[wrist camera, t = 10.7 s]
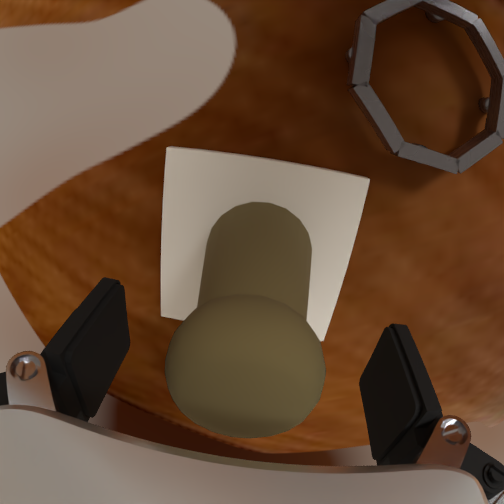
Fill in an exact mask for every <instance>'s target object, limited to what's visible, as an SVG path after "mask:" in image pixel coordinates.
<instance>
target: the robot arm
mask: <svg viewBox="0 0 504 504" xmlns="http://www.w3.org/2000/svg"><path fill="white" fill-rule="evenodd" d="M129 347H130V336H129V328H128V320H127V311H126V301H125V290H124V286H123V285H120V282H119V281H118V280H115V279H110V278H103V279H102V280H101V281H100V282H99V283H98V284H97V285H96V287H95V288H94V289H93V290H92V291H91V292H90V294H89V295H88V296H87V297H86V298H85V300H84V301H83V302H82V303H81V304H80V306H79V307H78V308H77V309H76V310H75V311H74V312H73V313H72V314H71V315H70V317H69V318H68V319H67V320H66V322H65V323H64V324H63V325H62V327H61V328H60V329H59V330H58V332H57V333H56V334H55V336H54V337H53V338H52V339H51V341H50V342H49V343H48V345H47V346H46V347H45V349H44V350H43V351H42V353H41V354H38V353H36V352H32V351H23V352H20V353H17V354H16V355H14V356H13V357H12V358H11V359H10V360H9V361H8V363H7V366H6V372H3V373H0V504H504V466H503V465H502V464H501V463H500V462H499V461H497V460H496V459H494V458H493V457H491V456H489V455H488V454H486V453H485V452H483V451H482V450H480V449H479V448H477V447H476V446H474V445H473V444H471V443H470V441H471V431H470V429H469V427H468V425H467V424H466V423H465V421H463V420H462V419H461V418H459V417H457V416H453V415H447V416H444V417H443V415H442V412H441V411H442V409H441V406H440V404H439V401H438V398H437V396H436V393H435V390H434V388H433V385H432V383H431V380H430V378H429V375H428V373H427V370H426V368H425V366H424V363H423V361H422V358H421V356H420V354H419V351H418V349H417V347H416V345H415V342H414V340H413V338H412V336H411V333H410V331H409V329H408V327H407V326H406V325H401V324H391V325H390V326H389V327H386V328H385V329H384V331H383V333H382V335H381V337H380V339H379V341H378V344H377V346H376V348H375V350H374V352H373V354H372V356H371V358H370V360H369V362H368V364H367V366H366V368H365V370H364V372H363V374H362V375H361V378H360V382H359V386H360V391H361V396H362V402H363V407H364V412H365V417H366V423H367V428H368V434H369V440H370V446H371V452H372V457H373V459H374V460H376V461H377V466H308V465H290V464H279V463H268V462H258V461H250V460H242V459H235V458H228V457H222V456H216V455H210V454H205V453H199V452H194V451H189V450H185V449H180V448H175V447H171V446H167V445H162V444H159V443H155V442H150V441H147V440H143V439H140V438H136V437H133V436H129V435H126V434H122V433H119V432H116V431H113V430H110V429H106V428H103V427H100V426H97V425H94V424H91V423H88V420H89V418H90V417H94V416H95V415H96V413H97V411H98V409H99V407H100V404H101V403H102V401H103V398H104V397H105V395H106V393H107V391H108V389H109V387H110V385H111V383H112V381H113V379H114V377H115V375H116V373H117V371H118V369H119V367H120V365H121V363H122V361H123V360H124V358H125V356H126V354H127V352H128V350H129Z"/></svg>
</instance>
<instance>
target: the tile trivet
mask: <svg viewBox="0 0 504 504" xmlns="http://www.w3.org/2000/svg"><path fill="white" fill-rule="evenodd" d="M369 182H370V179H369V178H368V177H364V176H360V175H355V174H350V173H346V172H341V171H336V170H331V169H326V168H321V167H316V166H311V165H305V164H300V163H294V162H288V161H282V160H276V159H270V158H263V157H257V156H250V155H243V154H235V153H228V152H220V151H212V150H203V149H194V148H184V147H174V146H169V147H167V149H166V161H165V175H164V190H163V209H162V234H161V316H163V317H168V318H173V319H178V320H183V321H184V320H185V319H186V318H187V317H188V316H189V315H190V314H191V313H192V312H193V311H194V310H195V309H196V308H197V304H198V297H199V290H200V283H201V277H202V270H203V264H204V257H205V251H206V245H207V241H208V237H209V234H210V231H211V228H212V227H213V226H214V224H215V223H216V222H217V220H218V219H219V218H220V216H221V215H223V214H224V213H226V212H227V211H229V210H230V209H232V208H233V207H235V206H238V205H242V204H245V203H249V202H268V203H272V204H275V205H278V206H280V207H283V208H286V209H287V210H289V211H290V212H291V213H292V214H294V215H295V216H296V217H297V218H299V219H300V221H301V222H302V224H303V225H304V227H305V228H306V230H307V231H308V233H309V237H310V241H311V245H312V258H311V272H310V285H309V297H308V309H307V320H306V321H307V322H308V324H309V325H310V326H311V328H312V329H313V331H314V332H315V334H316V335H317V337H318V339H319V340H320V341H324V338H325V335H326V332H327V329H328V326H329V323H330V320H331V317H332V314H333V311H334V308H335V305H336V302H337V299H338V296H339V292H340V289H341V286H342V283H343V279H344V276H345V273H346V269H347V266H348V263H349V259H350V256H351V252H352V249H353V245H354V241H355V238H356V234H357V230H358V226H359V223H360V219H361V215H362V211H363V207H364V203H365V199H366V195H367V190H368V186H369Z"/></svg>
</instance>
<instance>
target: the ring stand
mask: <svg viewBox="0 0 504 504" xmlns="http://www.w3.org/2000/svg"><path fill="white" fill-rule="evenodd" d="M412 7H417V8H419V9H422V10H424V11H426V16H427V18H428V19H429V20H430V21H431V22H433V23H437V22H440V21H442V20H444V19H445V20H447V21H449V22H452V23H454V24H456V25H458V26H460V27H462V28H464V29H465V31H466V33H467V34H468V36H469V38H470V39H471V41H472V43H473V44H474V46H475V48H476V50H477V52H478V53H479V55H480V57H481V59H482V61H483V63H484V64H485V66H486V68H487V70H488V72H489V74H490V76H491V78H492V79H491V89H490V97H482V98H480V99H479V103H478V105H479V108H480V110H481V111H482V112H483V113H487V118H486V124H485V129H484V130H483V131H481V132H480V133H479V134H477V135H476V136H474V137H473V138H471V139H470V140H469V141H467V142H466V143H464V144H463V145H461V146H460V147H458V148H457V149H456V150H454V151H453V152H451V153H450V154H448V155H444V154H441V153H438V152H435V151H432V150H429V149H427V148H426V147H425V146H423V145H419V144H416V143H412V144H410V143H407V142H405V141H404V140H403V138H402V136H401V134H400V133H399V131H398V129H397V127H396V126H395V124H394V122H393V121H392V119H391V117H390V116H389V114H388V113H387V111H386V109H385V108H384V106H383V105H382V103H381V101H380V100H379V98H378V97H377V95H376V94H375V92H374V91H373V89H372V88H371V86H370V85H369V79H370V72H371V65H372V58H373V50H374V42H375V34H376V25H377V24H379V23H381V22H383V21H385V20H387V19H389V18H391V17H393V16H395V15H397V14H399V13H401V12H403V11H405V10H408V9H410V8H412ZM345 58H346V60H347V62H348V63H349V64H350V65H349V72H348V78H347V85H348V86H352V87H351V88H350V89H348V91H349V92H350V94H351V95H352V97H353V98H354V100H355V101H356V103H357V104H358V106H359V107H360V109H361V110H362V112H363V113H364V115H365V116H366V118H367V119H368V121H369V122H370V124H371V126H372V127H373V129H374V130H375V132H376V134H377V135H378V137H379V139H380V140H381V142H382V144H383V145H384V147H385V149H386V150H387V151H390V153H391V154H394V155H396V156H399V157H402V158H406V159H409V160H413V161H415V162H418V163H423V164H426V165H430V166H433V167H436V168H439V169H442V170H445V171H448V172H451V173H454V174H457V172H458V173H460V174H461V173H462V172H463V171H465V170H466V169H468V168H469V167H470V166H472V165H473V164H475V163H476V162H477V161H479V160H480V159H482V158H483V157H484V156H486V155H487V154H488V153H490V152H491V151H492V150H494V149H495V148H496V147H498V146H499V145H500V144H502V143H503V141H502V139H504V59H503V57H502V55H501V53H500V51H499V49H498V48H497V46H496V44H495V42H494V40H493V38H492V37H491V35H490V33H489V31H488V30H487V28H486V26H485V25H484V23H483V21H482V20H481V18H480V19H477V15H476V14H474V13H473V12H471V11H469V10H467V9H465V8H463V7H461V6H459V5H457V4H455V3H453V2H451V1H449V0H386V1H384V2H382V3H380V4H378V5H376V6H374V7H372V8H370V9H368V10H366V11H364V12H363V13H362V14H361V15H360V16H359V17H358V19H357V20H356V21H355V29H354V37H353V44H352V47H351V48H350V49H349V50H348V51H347V52H346V54H345Z"/></svg>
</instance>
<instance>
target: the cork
mask: <svg viewBox="0 0 504 504" xmlns="http://www.w3.org/2000/svg"><path fill="white" fill-rule="evenodd" d="M311 258H312V245H311V241H310V237H309V233H308V231H307V230H306V228H305V227H304V225H303V224H302V222H301V221H300V219H299V218H297V217H296V216H295V215H294V214H292V213H291V212H290V211H289V210H287V209H286V208H283V207H280V206H278V205H275V204H272V203H268V202H249V203H245V204H242V205H238V206H235V207H233V208H232V209H230V210H229V211H227V212H226V213H224V214H223V215H221V216H220V218H219V219H218V220H217V222H216V223H215V224H214V226H213V227H212V228H211V231H210V234H209V237H208V241H207V245H206V251H205V257H204V264H203V270H202V277H201V283H200V290H199V297H198V304H197V308H196V309H195V310H194V311H193V312H192V313H191V314H190V315H189V316H188V317H187V318H186V319H185V320H184V321H183V323H182V324H181V325H180V326H179V327H178V328H177V330H176V331H175V332H174V335H173V337H172V339H171V341H170V344H169V348H168V352H167V356H166V359H165V376H166V381H167V385H168V389H169V392H170V394H171V396H172V399H173V401H174V402H175V403H176V405H177V406H178V408H179V409H180V411H181V412H182V413H183V414H184V415H186V416H187V417H188V418H189V419H191V420H192V421H193V422H194V423H196V424H198V425H200V426H202V427H204V428H206V429H208V430H210V431H212V432H215V433H219V434H223V435H227V436H230V437H239V438H258V437H267V436H273V435H276V434H279V433H282V432H285V431H288V430H290V429H291V428H293V427H295V426H296V425H298V424H300V423H301V422H303V420H304V419H305V418H306V417H307V416H308V414H309V413H310V412H311V411H312V410H313V408H314V407H315V405H316V404H317V403H318V401H319V400H320V396H321V392H322V389H323V385H324V380H325V375H326V368H325V362H324V357H323V352H322V348H321V343H320V340H319V339H318V337H317V335H316V334H315V332H314V331H313V329H312V328H311V326H310V325H309V324H308V322H307V321H306V320H307V309H308V297H309V285H310V272H311Z"/></svg>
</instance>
